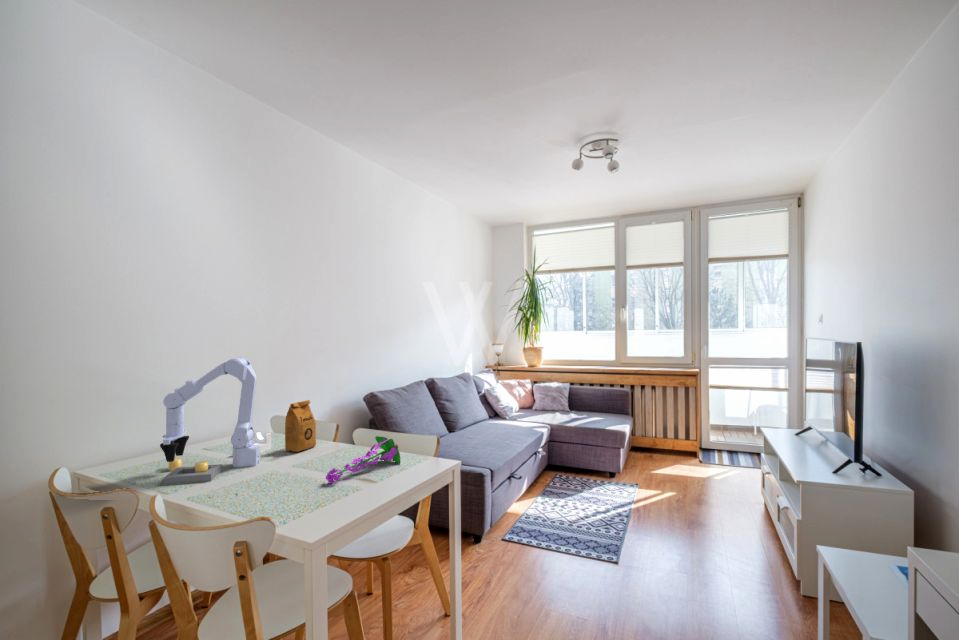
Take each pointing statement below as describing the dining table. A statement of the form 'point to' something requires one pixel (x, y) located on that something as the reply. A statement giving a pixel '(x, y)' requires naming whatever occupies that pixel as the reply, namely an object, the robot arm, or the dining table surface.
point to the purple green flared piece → (386, 455)
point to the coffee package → (300, 427)
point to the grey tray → (191, 475)
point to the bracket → (263, 441)
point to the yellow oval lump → (175, 464)
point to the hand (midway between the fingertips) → (175, 458)
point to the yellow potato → (201, 467)
